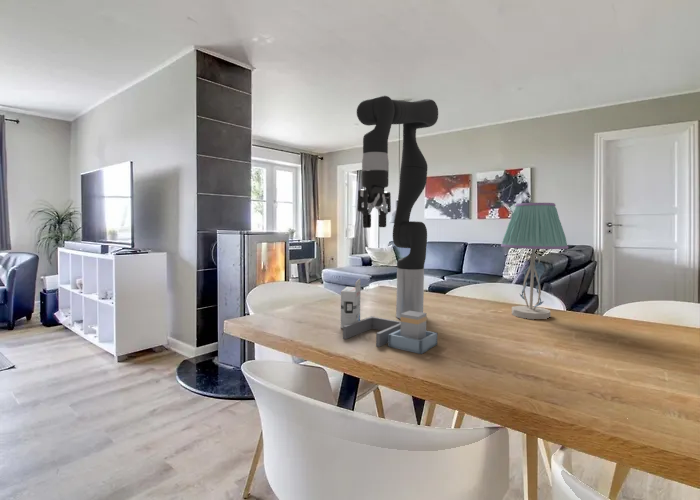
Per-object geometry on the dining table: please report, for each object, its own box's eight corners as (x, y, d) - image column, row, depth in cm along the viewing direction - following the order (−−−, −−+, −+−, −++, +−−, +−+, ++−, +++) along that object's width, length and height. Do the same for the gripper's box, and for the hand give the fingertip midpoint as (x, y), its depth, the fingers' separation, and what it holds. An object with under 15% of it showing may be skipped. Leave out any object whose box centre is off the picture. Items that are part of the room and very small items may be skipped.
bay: (371, 327, 118) (371, 316, 117) (405, 334, 111) (405, 322, 110) (343, 338, 106) (343, 326, 106) (379, 346, 99) (379, 333, 99)
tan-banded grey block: (409, 339, 104) (409, 310, 103) (426, 342, 101) (426, 313, 100) (400, 343, 100) (400, 313, 99) (417, 347, 97) (418, 316, 96)
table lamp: (578, 323, 125) (584, 202, 122) (512, 322, 125) (517, 201, 122) (545, 308, 146) (550, 205, 144) (489, 308, 146) (493, 205, 144)
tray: (405, 337, 107) (405, 326, 107) (437, 344, 101) (437, 332, 101) (388, 346, 99) (388, 334, 99) (421, 354, 94) (421, 341, 93)
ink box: (345, 321, 125) (346, 277, 124) (360, 322, 124) (361, 277, 123) (340, 328, 116) (340, 281, 115) (355, 329, 115) (356, 281, 114)
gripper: (376, 173, 115) (376, 227, 116) (350, 168, 103) (349, 227, 104) (398, 172, 110) (398, 227, 112) (373, 166, 99) (373, 228, 100)
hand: (374, 227), depth 108 cm, fingers open, 8 cm apart
